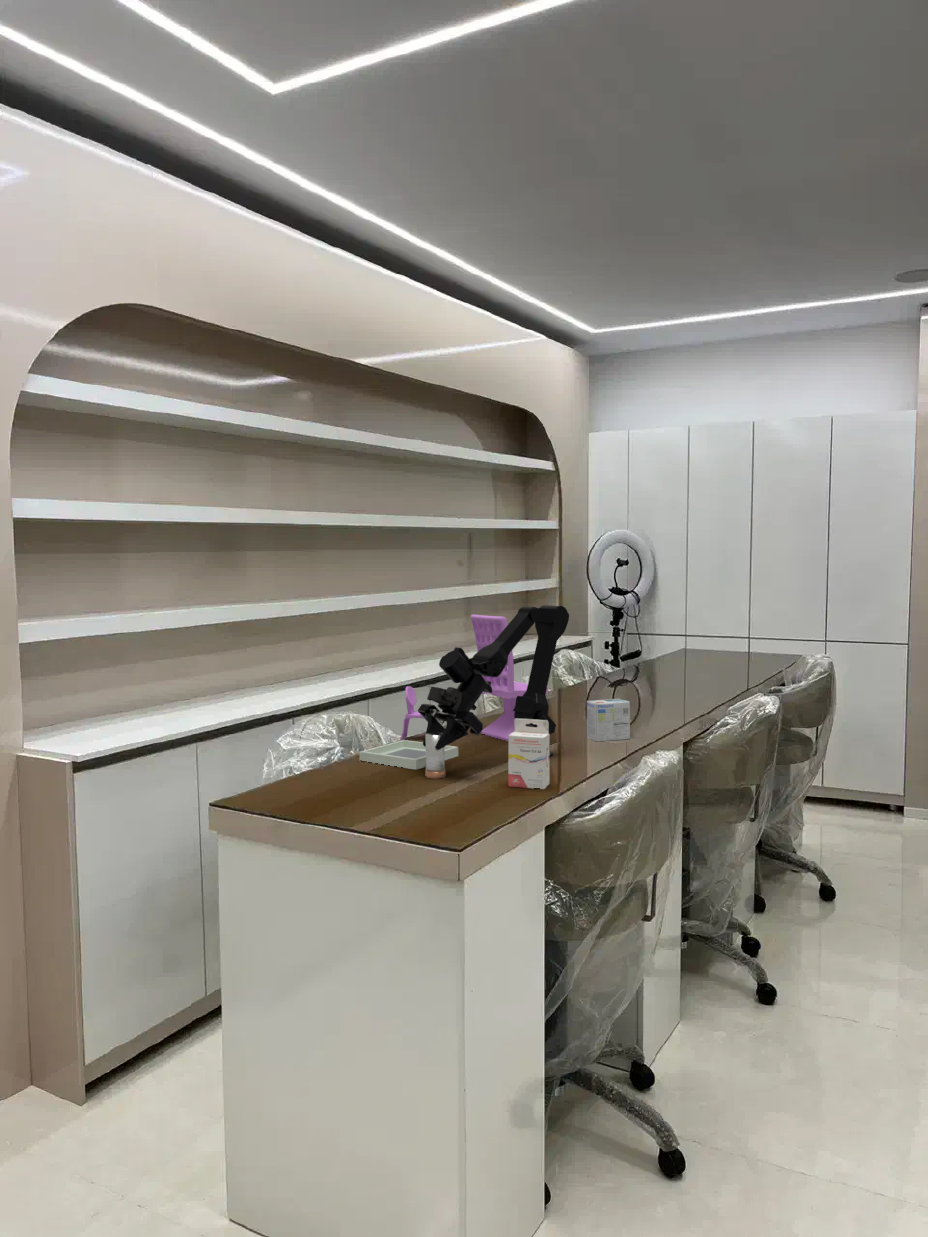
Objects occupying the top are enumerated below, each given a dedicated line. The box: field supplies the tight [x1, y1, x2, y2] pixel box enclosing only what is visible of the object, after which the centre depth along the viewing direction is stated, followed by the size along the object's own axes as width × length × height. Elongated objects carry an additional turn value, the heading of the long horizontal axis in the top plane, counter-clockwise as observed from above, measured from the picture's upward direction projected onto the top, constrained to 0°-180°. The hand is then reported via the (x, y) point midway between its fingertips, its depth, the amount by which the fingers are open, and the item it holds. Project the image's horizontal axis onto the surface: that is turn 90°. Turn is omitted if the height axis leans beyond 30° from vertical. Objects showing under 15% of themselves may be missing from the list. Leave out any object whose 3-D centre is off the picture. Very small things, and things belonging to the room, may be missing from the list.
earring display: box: [470, 614, 549, 742], centre depth 259 cm, size 15×17×35 cm
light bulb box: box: [586, 698, 631, 743], centre depth 254 cm, size 11×7×11 cm, turn 108°
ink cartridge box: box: [507, 718, 551, 790], centre depth 202 cm, size 9×5×15 cm, turn 71°
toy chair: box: [399, 685, 425, 741], centre depth 257 cm, size 8×9×15 cm
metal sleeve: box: [424, 732, 446, 780], centre depth 212 cm, size 5×5×10 cm
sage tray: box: [358, 739, 459, 771], centre depth 231 cm, size 18×18×2 cm
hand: (430, 747), depth 211 cm, fingers closed on metal sleeve, 4 cm apart
